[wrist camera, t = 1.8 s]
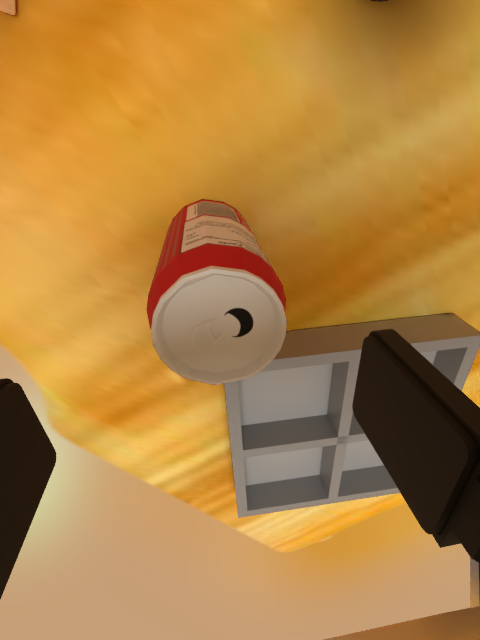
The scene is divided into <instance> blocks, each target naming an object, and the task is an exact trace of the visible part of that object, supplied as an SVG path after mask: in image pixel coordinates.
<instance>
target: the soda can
mask: <svg viewBox="0 0 480 640" xmlns="http://www.w3.org/2000/svg"><path fill="white" fill-rule="evenodd" d="M285 302H286V298H285V294H284V290H283V286H282V284H281V282H280V280H279V279H278V277H277V275H276V273H275V272H274V270H273V268H272V266H271V265H270V263H269V261H268V260H267V258H266V256H265V254H264V253H263V251H262V249H261V248H260V246H259V244H258V242H257V241H256V239H255V237H254V235H253V234H252V232H251V230H250V229H249V227H248V225H247V223H246V222H245V220H244V218H243V217H242V215H241V214H240V213H239V212H238V211H237V210H236V209H235V208H233V207H231V206H229V205H228V204H226V203H224V202H219V201H211V200H204V199H202V200H200V201H197V202H194V203H192V204H189V205H187V206H184V208H183V209H182V210H181V211H180V212H179V213H178V214H177V215H176V216H175V217H174V218H173V220H172V222H171V225H170V227H169V229H168V232H167V235H166V239H165V242H164V245H163V248H162V252H161V255H160V258H159V262H158V265H157V268H156V272H155V275H154V278H153V282H152V285H151V288H150V292H149V295H148V303H147V314H148V319H149V324H150V329H151V334H152V340H153V345H154V347H155V349H156V351H157V353H158V355H159V357H160V359H161V360H162V361H163V362H164V363H165V364H166V365H167V366H168V367H169V368H170V369H171V370H172V371H173V372H175V373H177V374H179V375H180V376H182V377H184V378H185V379H189V380H194V381H198V382H203V383H208V384H212V385H219V384H223V383H228V382H233V381H238V380H243V379H247V378H249V377H251V376H253V375H255V374H257V373H258V372H260V371H262V370H263V369H264V368H265V367H266V366H267V365H268V364H269V363H271V362H272V361H273V359H274V358H275V356H276V355H277V354H278V352H279V351H280V349H281V347H282V344H283V341H284V339H285V336H286V324H287V319H286V315H285Z"/></svg>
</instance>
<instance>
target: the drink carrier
mask: <svg viewBox="0 0 480 640" xmlns="http://www.w3.org/2000/svg"><path fill="white" fill-rule="evenodd" d="M384 329H394V330H395V331H396V332H398V333H399V334H400V335H401V336H402V337H403V338H404V339H405V340H406V341H407V342H408V343H410V344H411V345H412V346H413V347H414V348H415V349H416V350H417V351H418V352H419V353H420V354H421V355H423V356H424V357H425V358H426V359H427V360H428V361H429V362H430V363H431V364H432V365H433V366H435V367H436V368H437V369H438V370H439V371H440V372H441V373H442V374H443V375H444V376H445V377H447V378H448V379H449V380H450V381H451V382H452V383H453V384H454V385H455V386H456V387H457V388H459V389H460V390H461V391H462V389H463V386H464V384H465V381H466V379H467V376H468V374H469V371H470V369H471V366H472V364H473V361H474V359H475V357H476V354H477V352H478V349H479V347H480V332H479V331H478V330H476V329H475V328H474V327H472V326H471V325H469V324H468V323H466V322H465V321H463V320H462V319H460V318H459V317H458V316H456V315H455V314H453V313H446V314H437V315H428V316H419V317H410V318H401V319H392V320H383V321H374V322H366V323H357V324H348V325H339V326H330V327H321V328H312V329H303V330H294V331H286V336H285V339H284V341H283V344H282V347H281V349H280V351H279V352H278V354H277V355H276V356H275V358H274V359H273V361H272V362H271V363H269V364H268V365H267V366H266V367H265V368H264V369H263V370H262V371H260V372H258V373H257V374H255V375H253V376H251V377H249V378H247V379H243V380H238V381H233V382H228V383H224V387H225V397H226V407H227V416H228V426H229V435H230V445H231V454H232V464H233V473H234V483H235V492H236V501H237V510H238V518H240V517H246V516H253V515H259V514H266V513H272V512H279V511H285V510H292V509H298V508H305V507H311V506H317V505H324V504H330V503H337V502H343V501H350V500H356V499H363V498H369V497H376V496H382V495H388V494H395V493H400V491H399V489H398V488H397V486H396V484H395V483H394V481H393V479H392V478H391V476H390V474H389V473H388V471H387V469H386V468H385V466H384V464H383V463H382V461H381V459H380V458H379V456H378V454H377V453H376V451H375V450H374V448H373V446H372V445H371V443H370V441H369V440H368V438H367V436H366V435H365V433H364V431H363V430H362V428H361V426H360V425H359V423H358V421H357V420H356V418H355V416H354V413H353V409H352V403H353V398H354V392H355V386H356V380H357V374H358V369H359V363H360V357H361V351H362V345H363V340H364V338H365V337H368V336H369V333H370V332H372V331H376V330H384Z"/></svg>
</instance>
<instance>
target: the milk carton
mask: <svg viewBox="0 0 480 640" xmlns="http://www.w3.org/2000/svg"><path fill="white" fill-rule="evenodd" d="M0 11H2V12H4V13H7V14H10V15H15V12H16V9H15V0H0Z"/></svg>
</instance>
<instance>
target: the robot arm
mask: <svg viewBox="0 0 480 640" xmlns="http://www.w3.org/2000/svg"><path fill="white" fill-rule="evenodd" d="M352 409H353V413H354V416H355V418H356V420H357V421H358V423H359V425H360V426H361V428H362V430H363V431H364V433H365V435H366V436H367V438H368V440H369V441H370V443H371V445H372V446H373V448H374V450H375V451H376V453H377V454H378V456H379V458H380V459H381V461H382V463H383V464H384V466H385V468H386V469H387V471H388V473H389V474H390V476H391V478H392V479H393V481H394V483H395V484H396V486H397V488H398V489H399V491H400V493H401V494H402V496H403V498H404V499H405V501H406V502H407V504H408V506H409V507H410V509H411V511H412V512H413V514H414V516H415V517H416V519H417V520H418V522H419V524H420V526H421V527H422V528H423V530H424V531H425V532H426V533H428V534H432V535H433V537H434V538H435V540H436V542H437V543H438V545H439V546H440V548H441V547H446V546H450V545H455V544H460V543H461V544H462V545H463V546H464V548H465V549H466V551H467V552H468V554H469V555H470V558H471V559H470V560H471V561H470V565H471V566H470V568H471V569H470V573H471V574H470V575H471V577H470V579H471V580H470V586H471V587H470V589H471V590H470V605H471V606H470V608H468V609H463V610H458V611H452V612H447V613H442V614H438V615H433V616H429V617H424V618H420V619H415V620H411V621H406V622H401V623H397V624H393V625H388V626H384V627H379V628H375V629H370V630H366V631H361V632H356V633H352V634H347V635H343V636H339V637H334V638H329V639H325V640H480V408H479V407H478V406H477V405H476V404H475V403H474V402H473V401H472V400H470V399H469V398H468V397H467V396H466V395H465V394H464V393H463V392H462V391H461V390H460V389H459V388H457V387H456V386H455V385H454V384H453V383H452V382H451V381H450V380H449V379H448V378H447V377H445V376H444V375H443V374H442V373H441V372H440V371H439V370H438V369H437V368H436V367H435V366H433V365H432V364H431V363H430V362H429V361H428V360H427V359H426V358H425V357H424V356H423V355H421V354H420V353H419V352H418V351H417V350H416V349H415V348H414V347H413V346H412V345H411V344H410V343H408V342H407V341H406V340H405V339H404V338H403V337H402V336H401V335H400V334H399V333H398V332H396V331H395V330H394V329H384V330H376V331H372V332H370V333H369V336H368V337H365V338H364V340H363V345H362V351H361V357H360V363H359V369H358V374H357V380H356V386H355V392H354V398H353V403H352ZM55 463H56V452H55V449H54V447H53V445H52V443H51V442H50V440H49V438H48V436H47V434H46V432H45V431H44V429H43V427H42V425H41V423H40V421H39V419H38V417H37V415H36V414H35V412H34V410H33V408H32V406H31V404H30V402H29V401H28V399H27V397H26V395H25V393H24V391H23V389H22V387H21V386H20V385H19V384H18V383H14V382H13V381H12V380H10V379H0V599H1V596H2V594H3V591H4V589H5V586H6V584H7V582H8V579H9V577H10V574H11V572H12V569H13V567H14V564H15V562H16V559H17V557H18V554H19V552H20V550H21V547H22V545H23V542H24V540H25V537H26V535H27V532H28V530H29V527H30V525H31V522H32V520H33V517H34V515H35V512H36V510H37V508H38V505H39V502H40V500H41V498H42V495H43V493H44V490H45V488H46V485H47V483H48V480H49V478H50V475H51V473H52V471H53V468H54V466H55Z"/></svg>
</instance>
